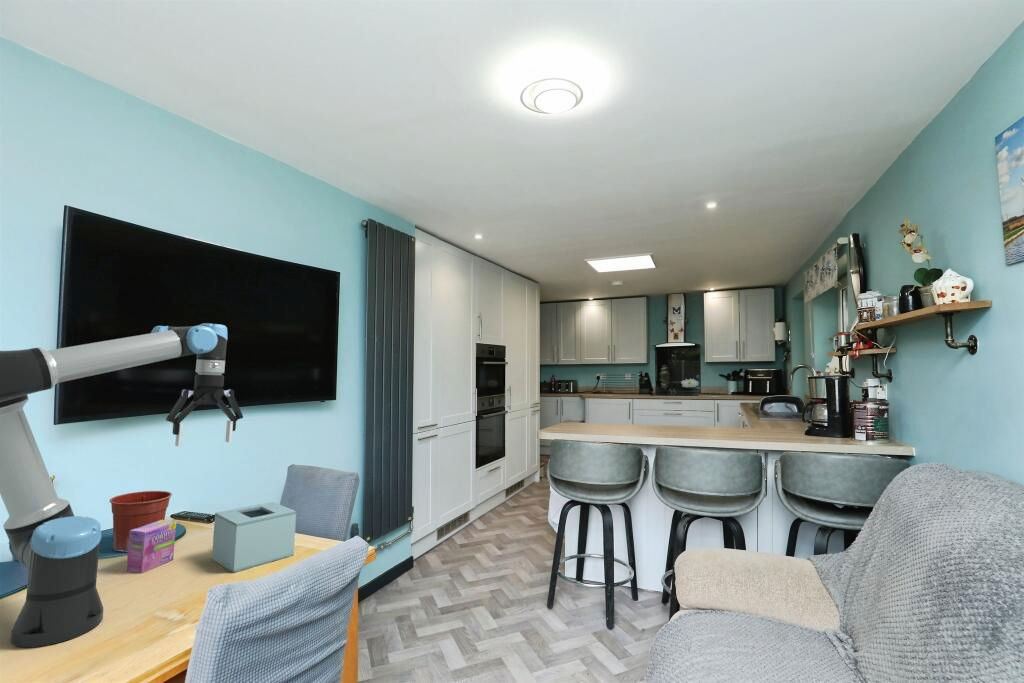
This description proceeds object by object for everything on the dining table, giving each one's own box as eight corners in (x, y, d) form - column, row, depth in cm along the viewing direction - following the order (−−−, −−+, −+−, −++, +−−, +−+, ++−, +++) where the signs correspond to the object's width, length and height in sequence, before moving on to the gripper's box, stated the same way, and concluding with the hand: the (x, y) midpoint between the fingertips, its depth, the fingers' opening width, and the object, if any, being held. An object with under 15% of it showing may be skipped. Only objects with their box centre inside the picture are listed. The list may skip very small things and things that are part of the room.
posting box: (233, 572, 139) (236, 524, 140) (211, 558, 149) (215, 512, 150) (293, 555, 154) (296, 511, 154) (270, 543, 163) (272, 501, 164)
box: (141, 573, 137) (145, 531, 138) (125, 571, 138) (129, 529, 139) (174, 560, 147) (177, 521, 148) (158, 558, 148) (161, 519, 149)
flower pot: (170, 534, 168) (174, 488, 169) (166, 550, 154) (170, 499, 156) (110, 542, 160) (114, 493, 161) (100, 559, 146) (104, 505, 147)
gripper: (165, 373, 135) (159, 449, 133) (257, 375, 154) (252, 441, 153) (157, 372, 139) (150, 445, 138) (247, 374, 159) (242, 438, 157)
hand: (204, 443), depth 145 cm, fingers open, 13 cm apart
